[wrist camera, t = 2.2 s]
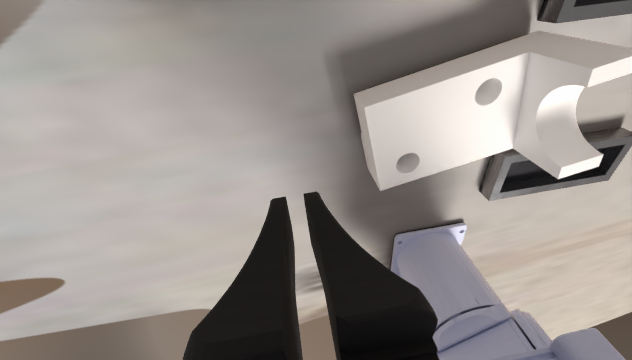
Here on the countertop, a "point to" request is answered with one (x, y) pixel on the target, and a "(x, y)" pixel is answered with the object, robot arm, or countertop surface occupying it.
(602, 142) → the trap pits
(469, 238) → the countertop surface
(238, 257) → the countertop surface
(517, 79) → the bracket
